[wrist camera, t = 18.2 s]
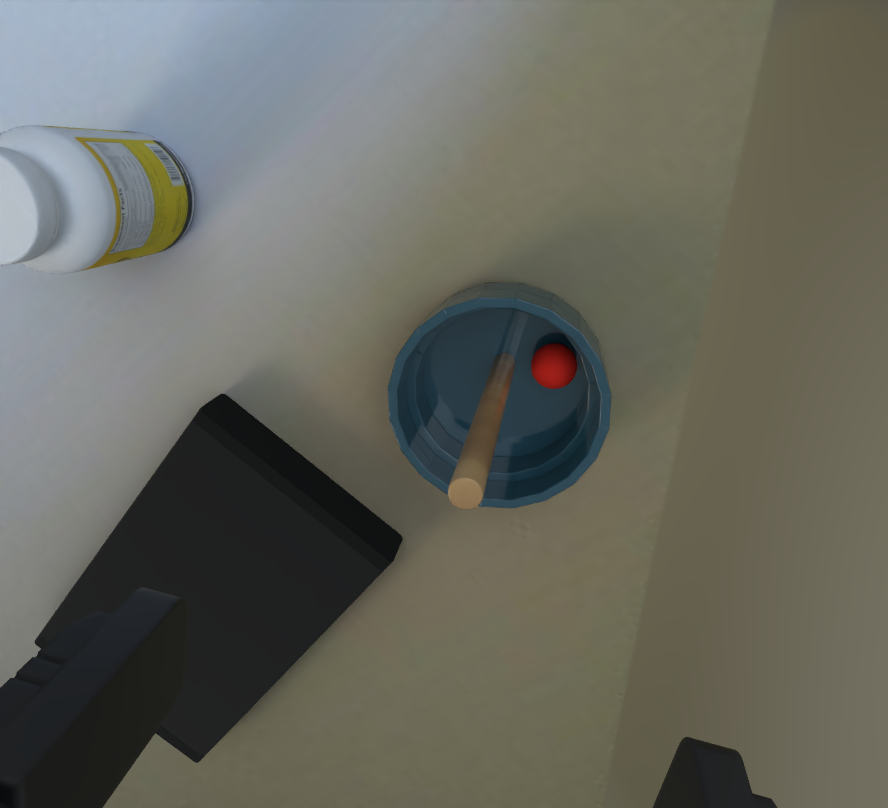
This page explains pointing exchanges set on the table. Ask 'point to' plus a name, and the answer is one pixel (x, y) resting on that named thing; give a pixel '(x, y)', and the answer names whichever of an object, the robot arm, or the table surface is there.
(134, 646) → the robot arm
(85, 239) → the pill bottle
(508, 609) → the table surface
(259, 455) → the external hard drive
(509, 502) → the bowl
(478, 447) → the stick
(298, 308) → the table surface
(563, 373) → the ball
